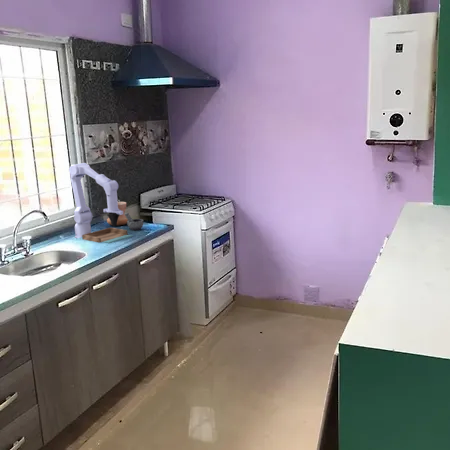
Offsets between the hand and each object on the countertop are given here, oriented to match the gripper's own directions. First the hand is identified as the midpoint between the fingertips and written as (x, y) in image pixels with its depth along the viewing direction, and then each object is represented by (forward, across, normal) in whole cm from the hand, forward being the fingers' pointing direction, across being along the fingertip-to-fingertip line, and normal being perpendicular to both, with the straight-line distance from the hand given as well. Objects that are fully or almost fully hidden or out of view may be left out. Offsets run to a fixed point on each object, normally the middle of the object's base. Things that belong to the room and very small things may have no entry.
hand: (114, 225), depth 302 cm
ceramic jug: (+10, +32, -30) cm, 45 cm away
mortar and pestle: (+10, +8, -22) cm, 25 cm away
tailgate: (+8, +2, 0) cm, 8 cm away
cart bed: (+9, +9, 0) cm, 13 cm away
